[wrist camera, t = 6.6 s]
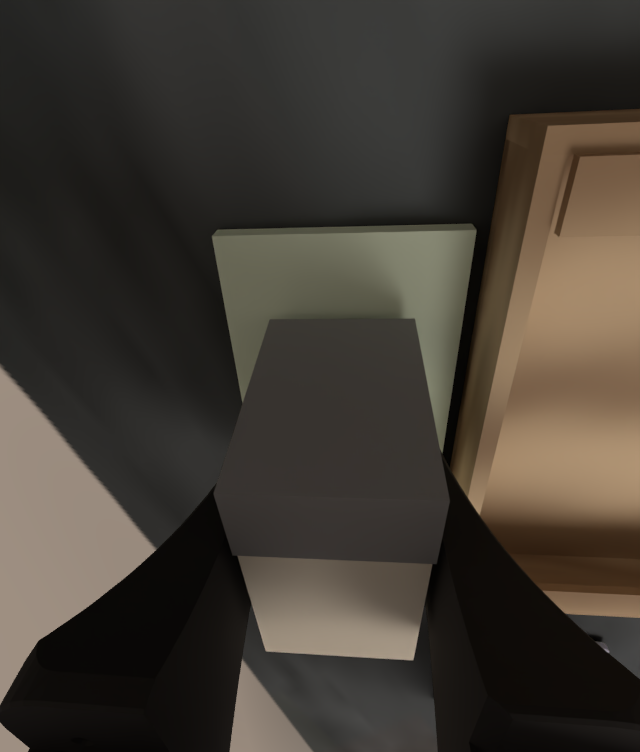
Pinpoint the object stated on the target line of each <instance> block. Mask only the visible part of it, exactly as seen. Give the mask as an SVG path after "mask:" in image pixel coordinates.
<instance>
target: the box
mask: <svg viewBox="0 0 640 752" xmlns="http://www.w3.org/2000/svg"><path fill="white" fill-rule="evenodd" d="M214 497H215V501H216V504H217V507H218V510H219V514H220V517H221V520H222V523H223V526H224V530H225V533H226V536H227V539H228V543H229V546H230V549H231V552H232V556H238V560H239V563H240V566H241V570H242V573H243V576H244V580H245V583H246V586H247V590H248V593H249V597H250V600H251V603H252V607H253V610H254V613H255V617H256V620H257V623H258V627H259V630H260V633H261V637H262V640H263V644H264V647H265V650H266V651H268V652H284V653H300V654H316V655H332V656H349V657H365V658H381V659H397V660H413V659H414V654H415V649H416V644H417V639H418V634H419V629H420V624H421V619H422V614H423V609H424V604H425V599H426V594H427V589H428V584H429V579H430V574H431V569H432V564H437V560H438V555H439V551H440V546H441V541H442V536H443V532H444V527H445V522H446V517H447V513H448V508H449V503H450V499H449V494H448V488H447V483H446V478H445V473H444V468H443V462H442V457H441V452H440V447H439V441H438V436H437V431H436V426H435V421H434V415H433V410H432V405H431V400H430V394H429V389H428V384H427V379H426V374H425V368H424V363H423V358H422V353H421V348H420V342H419V337H418V332H417V327H416V321H415V318H411V319H270V320H269V323H268V326H267V329H266V332H265V335H264V338H263V342H262V345H261V348H260V351H259V354H258V357H257V360H256V363H255V366H254V369H253V373H252V376H251V379H250V382H249V385H248V388H247V391H246V394H245V397H244V400H243V404H242V407H241V410H240V413H239V416H238V419H237V422H236V425H235V428H234V432H233V435H232V438H231V441H230V444H229V447H228V450H227V453H226V456H225V459H224V463H223V466H222V469H221V472H220V475H219V478H218V481H217V484H216V487H215V491H214Z"/></svg>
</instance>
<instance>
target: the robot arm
mask: <svg viewBox="0 0 640 752" xmlns="http://www.w3.org/2000/svg"><path fill="white" fill-rule="evenodd" d="M440 452H441V450H440ZM441 457H442V462H443V468H444V473H445V478H446V483H447V488H448V494H449V499H450V503H449V508H448V513H447V517H446V522H445V527H444V532H443V536H442V541H441V546H440V551H439V555H438V560H437V564H432V569H431V574H430V579H429V584H428V589H427V594H426V599H425V607H426V614H427V622H428V633H429V644H430V655H431V667H432V679H433V691H434V704H435V718H436V732H437V746H438V752H640V679H639V678H637V677H636V676H635V675H634V674H633V673H631V672H630V671H629V670H628V669H627V668H626V667H624V666H623V665H622V664H621V663H620V662H618V661H617V660H616V659H615V658H614V657H612V656H611V655H610V654H609V650H608V648H607V645H606V644H605V643H603V642H597V641H594V640H593V639H592V638H591V637H589V636H588V635H587V634H586V633H585V632H584V631H583V630H582V629H581V628H580V627H579V626H578V625H576V624H575V623H574V622H573V621H572V620H571V619H570V618H569V617H568V616H567V615H566V614H565V613H564V612H563V611H562V610H561V609H560V608H559V607H558V606H557V605H556V604H555V603H554V602H553V601H552V600H551V599H550V598H549V597H548V596H547V595H546V594H545V593H544V592H543V591H542V590H541V589H540V588H539V587H538V586H537V585H536V584H535V583H534V582H533V580H532V579H531V578H530V577H529V576H528V575H527V574H526V573H525V572H524V570H523V569H522V568H521V567H520V566H519V565H518V564H517V563H516V561H515V560H514V559H513V558H512V557H511V555H510V554H509V553H508V552H507V551H506V549H505V548H504V547H503V546H502V545H501V543H500V542H499V541H498V539H497V538H496V537H495V536H494V534H493V533H492V532H491V530H490V529H489V528H488V526H487V525H486V523H485V522H484V521H483V519H482V518H481V517H480V515H479V514H478V512H477V511H476V509H475V508H474V506H473V505H472V503H471V502H470V500H469V499H468V497H467V496H466V494H465V493H464V491H463V489H462V488H461V486H460V485H459V483H458V481H457V480H456V478H455V476H454V474H453V473H452V471H451V469H450V467H449V466H448V464H447V462H446V460H445V458H444V456H443V454H442V452H441ZM216 484H217V483H216ZM215 487H216V485H215V486H214V487H213V488H212V490H211V491H210V492H209V494H208V495H207V496H206V497H205V498H204V500H203V501H202V502H201V503H200V504H199V505H198V507H197V508H196V509H195V510H194V511H193V512H192V514H191V515H190V516H189V517H188V518H187V519H186V520H185V522H184V523H183V524H182V525H181V526H180V527H179V528H178V529H177V530H176V531H175V532H174V533H173V534H172V535H171V536H170V537H169V538H168V539H167V540H166V541H165V542H164V543H163V544H162V545H161V546H160V547H159V548H158V549H157V550H156V551H155V552H154V553H153V554H152V555H150V556H149V557H148V558H147V559H146V560H145V561H144V562H143V563H142V564H141V565H140V566H138V567H137V568H136V569H135V570H134V571H133V572H132V573H130V574H129V575H128V576H127V577H126V578H124V579H123V580H122V581H121V582H120V583H118V584H117V585H115V586H114V587H113V588H112V589H110V590H109V591H108V592H107V593H105V594H104V595H103V596H102V597H100V598H99V599H98V600H96V601H95V602H94V603H93V604H91V605H90V606H89V607H87V608H86V609H85V610H83V611H82V612H80V613H79V614H77V615H76V616H74V617H73V618H72V619H70V620H69V621H67V622H66V623H64V624H63V625H61V626H60V627H58V628H57V629H56V630H54V631H53V632H51V633H50V634H49V635H47V636H45V637H44V638H42V639H40V640H39V641H38V643H37V644H36V646H35V647H34V649H33V650H32V652H31V653H30V655H29V656H28V658H27V659H26V661H25V662H24V664H23V666H22V668H21V669H20V671H19V673H18V675H17V677H16V678H15V680H14V682H13V683H12V685H11V687H10V689H9V690H8V692H7V694H6V696H5V697H4V699H3V701H2V703H1V705H0V723H1V724H2V725H3V726H4V727H5V728H6V729H7V730H9V731H10V732H11V733H12V734H13V735H15V736H16V737H17V738H18V739H19V740H21V741H22V742H23V743H24V744H25V745H27V746H28V747H29V748H30V749H29V751H28V752H229V750H230V742H231V734H232V726H233V718H234V711H235V704H236V696H237V689H238V681H239V674H240V668H241V661H242V655H243V648H244V642H245V636H246V629H247V623H248V617H249V611H250V606H251V600H250V597H249V593H248V590H247V586H246V583H245V580H244V576H243V573H242V570H241V566H240V563H239V560H238V556H232V552H231V549H230V546H229V543H228V539H227V536H226V533H225V530H224V526H223V523H222V520H221V517H220V514H219V510H218V507H217V504H216V501H215V497H214V491H215Z"/></svg>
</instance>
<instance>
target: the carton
mask: <svg viewBox="0 0 640 752" xmlns="http://www.w3.org/2000/svg"><path fill="white" fill-rule="evenodd" d="M450 469H451V471H452V473H453V474H454V476H455V478H456V480H457V481H458V483H459V485H460V486H461V488H462V489H463V491H464V493H465V494H466V496H467V497H468V499H469V500H470V502H471V503H472V505H473V506H474V508H475V509H476V511H477V512H478V514H479V515H480V517H481V518H482V519H483V521H484V522H485V523H486V525H487V526H488V528H489V529H490V530H491V532H492V533H493V534H494V536H495V537H496V538H497V539H498V541H499V542H500V543H501V545H502V546H503V547H504V548H505V549H506V551H507V552H508V553H509V554H510V555H511V557H512V558H513V559H514V560H515V561H516V563H517V564H518V565H519V566H520V567H521V568H522V569H523V570H524V572H525V573H526V574H527V575H528V576H529V577H530V578H531V579H532V580H533V582H534V583H535V584H536V585H537V586H538V587H539V588H540V589H541V590H542V591H543V592H544V593H545V594H546V595H547V596H548V597H549V598H550V599H551V600H552V601H553V602H554V603H555V604H556V605H557V606H558V607H559V608H560V609H561V610H562V611H563V612H564V613H565V614H579V615H598V616H617V617H636V618H640V109H623V110H601V111H579V112H557V113H535V114H513V115H509V121H508V127H507V133H506V139H505V145H504V151H503V157H502V162H501V168H500V174H499V180H498V186H497V192H496V198H495V204H494V209H493V215H492V221H491V227H490V233H489V239H488V245H487V251H486V257H485V262H484V268H483V274H482V280H481V286H480V292H479V298H478V304H477V309H476V315H475V321H474V327H473V333H472V339H471V345H470V351H469V356H468V362H467V368H466V374H465V380H464V386H463V392H462V398H461V404H460V409H459V415H458V421H457V427H456V433H455V439H454V445H453V451H452V456H451V462H450Z"/></svg>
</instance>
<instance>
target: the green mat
mask: <svg viewBox="0 0 640 752" xmlns="http://www.w3.org/2000/svg"><path fill="white" fill-rule="evenodd" d="M476 232H477V230H476V228H475V227H474V226H473V224H431V225H390V226H348V227H306V228H265V229H223V230H217V231H216V232H215V233H214V234H213V235H212V240H213V246H214V251H215V257H216V262H217V268H218V273H219V278H220V284H221V289H222V295H223V300H224V306H225V311H226V316H227V322H228V327H229V333H230V338H231V344H232V349H233V354H234V360H235V365H236V371H237V376H238V382H239V387H240V392H241V398H242V403H243V400H244V397H245V394H246V391H247V388H248V385H249V382H250V379H251V376H252V373H253V369H254V366H255V363H256V360H257V357H258V354H259V351H260V348H261V345H262V342H263V338H264V335H265V332H266V329H267V326H268V323H269V320H270V319H411V318H415V321H416V327H417V332H418V337H419V342H420V348H421V353H422V358H423V363H424V368H425V374H426V379H427V384H428V389H429V394H430V400H431V405H432V410H433V415H434V421H435V426H436V431H437V436H438V441H439V447H440V450H441V452H442V453H443V447H444V440H445V434H446V427H447V421H448V414H449V408H450V401H451V395H452V388H453V382H454V375H455V369H456V362H457V356H458V349H459V343H460V336H461V330H462V323H463V316H464V310H465V303H466V297H467V290H468V284H469V277H470V271H471V264H472V258H473V251H474V245H475V238H476Z"/></svg>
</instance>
